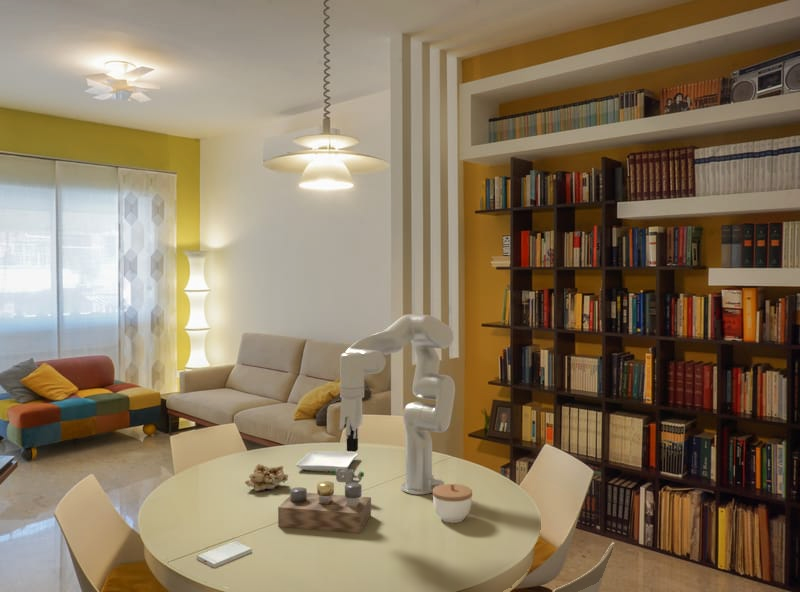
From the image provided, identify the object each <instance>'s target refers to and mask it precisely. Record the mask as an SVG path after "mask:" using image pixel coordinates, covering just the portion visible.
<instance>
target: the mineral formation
mask: <svg viewBox="0 0 800 592" xmlns="http://www.w3.org/2000/svg"><path fill="white" fill-rule="evenodd" d="M248 478H250V479H248V480H245V481H244V484H245V485H246V486H247V487H252V488H253V490H254V491H255V492H259V491H264V490H265V489H267V490H271V489H272V490H274V489H275V487H276V486H278V485H280V483H285V482H287V481H288V478H289V475H288V474H287V473H284V466H283V465H279V466H278V465H276V466H274V467H272V466H264V464H262V463H258V464H257V465H256V466H255V467H254V469H253V473H250V474H249V476H248Z"/></svg>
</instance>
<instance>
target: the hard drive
mask: <svg viewBox="0 0 800 592" xmlns="http://www.w3.org/2000/svg"><path fill="white" fill-rule="evenodd" d="M252 552H253V549H252V547H249V546H248V545H245V544H242V543H240V542H238V541H236V540H234V541H232V542H228V543H226V544H224V545H221V546H219V547H216V548H214V549H211V550H209V551H205V552H203V553H200V554H197V555H196V559H197V560H198V561H200V562H202V563H203V564H205V565H208V566H210V567H211V568H213V569H215V568H217V567H219V566H220V567H221V566H222V565H224V564H226V563H230V562H231V561H234V560H237V559H238V558H241V557H243V556H247V555H248V554H250V553H252Z"/></svg>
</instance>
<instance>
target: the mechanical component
mask: <svg viewBox="0 0 800 592" xmlns="http://www.w3.org/2000/svg"><path fill="white" fill-rule="evenodd" d="M333 475H334V476H335V477H336V478H335V479H336V481H337V482H338V483H344V484H345V485H346V484H349V483H358V484H360V482H361V481H362V479H363V478H364V476H365V473H364V471H358V474H355V472H354V470H353V469H349V468H347V469H338V470H335V471H334V472H333Z"/></svg>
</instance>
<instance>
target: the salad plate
mask: <svg viewBox="0 0 800 592" xmlns="http://www.w3.org/2000/svg"><path fill="white" fill-rule="evenodd" d="M358 456H359V453H358V452H353V451H335V450H334V451H330V450H329V451H327V450H326V451H325V450H311V451H309V452H307V454H306V455H304V457H302V458H301V459H300V460H298V462H297V463H296V467H297V468H299V469H301V470H304V471H309V470H310V471H312V472H313V471H314V472H328V471H330V472H331V473H332V472H333V471H335V470H338V469H349V466H350V465H351V464H352V462H354V460H355V459H356V458H357V457H358ZM333 473H334V472H333Z"/></svg>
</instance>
